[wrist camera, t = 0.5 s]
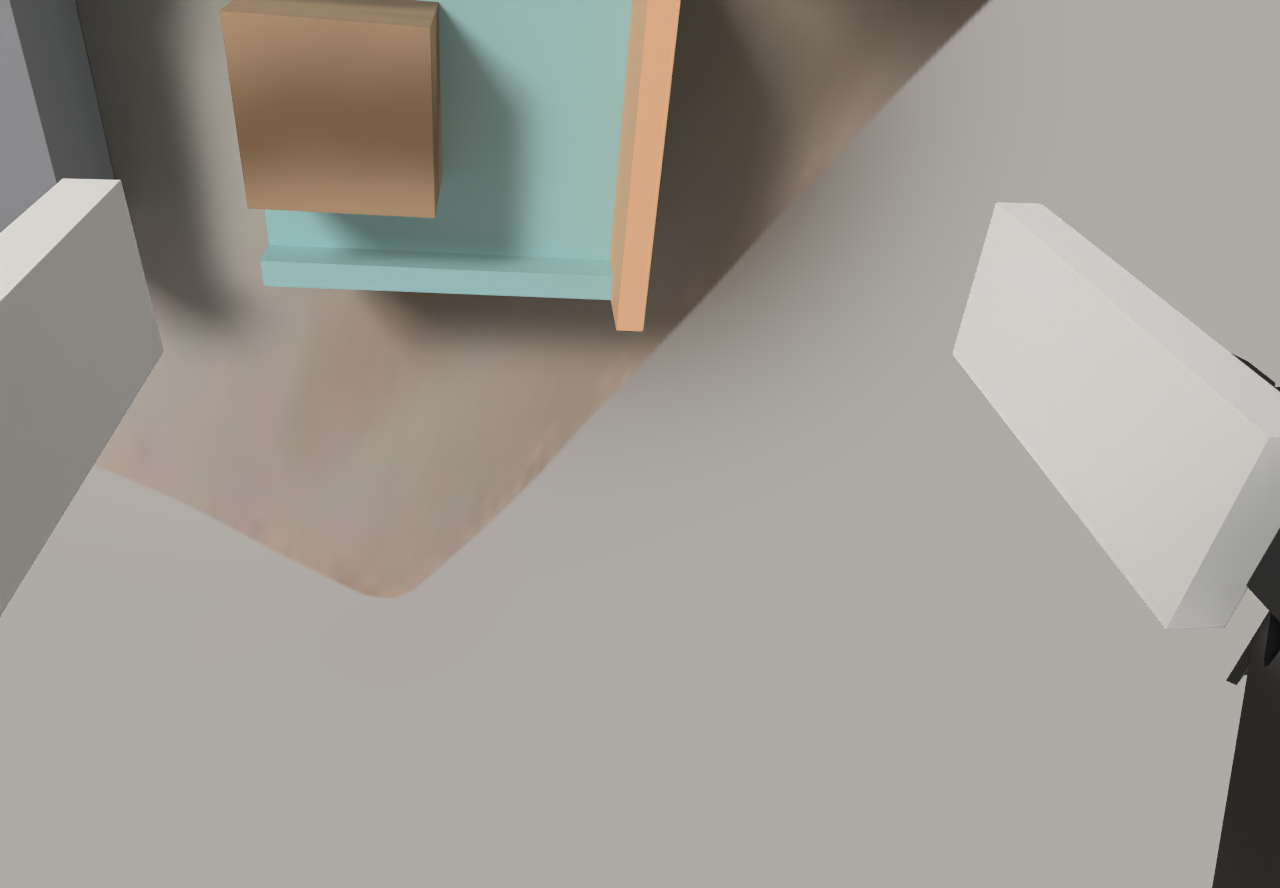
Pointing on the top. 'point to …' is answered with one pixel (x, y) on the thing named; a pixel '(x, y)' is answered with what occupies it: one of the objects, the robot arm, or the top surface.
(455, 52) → the gap walkway
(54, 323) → the robot arm
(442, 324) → the top surface
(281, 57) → the walnut block
